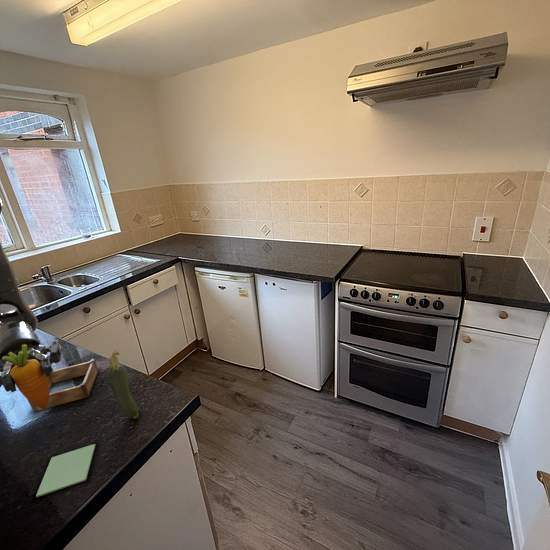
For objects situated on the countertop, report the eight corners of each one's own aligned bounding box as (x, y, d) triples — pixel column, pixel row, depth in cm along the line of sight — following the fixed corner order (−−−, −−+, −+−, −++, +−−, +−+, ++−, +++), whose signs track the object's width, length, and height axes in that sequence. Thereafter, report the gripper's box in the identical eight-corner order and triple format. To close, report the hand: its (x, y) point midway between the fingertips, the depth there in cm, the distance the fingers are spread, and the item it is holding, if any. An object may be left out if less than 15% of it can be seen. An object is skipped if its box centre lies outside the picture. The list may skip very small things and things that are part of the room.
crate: (33, 412, 82) (27, 399, 81) (50, 382, 94) (45, 371, 92) (89, 396, 86) (84, 384, 84) (98, 369, 97) (94, 358, 96)
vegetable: (122, 426, 75) (97, 361, 67) (123, 414, 78) (99, 351, 71) (141, 419, 76) (119, 354, 69) (141, 408, 80) (120, 345, 73)
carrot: (29, 421, 59) (-4, 360, 54) (31, 406, 63) (1, 347, 58) (58, 409, 62) (29, 349, 56) (59, 395, 66) (32, 338, 60)
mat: (36, 497, 60) (35, 496, 60) (52, 458, 68) (51, 457, 68) (86, 480, 62) (85, 479, 62) (95, 444, 70) (95, 443, 70)
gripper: (-30, 348, 63) (-30, 385, 52) (50, 320, 72) (66, 346, 61) (-14, 376, 66) (-10, 417, 54) (61, 346, 75) (78, 375, 63)
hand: (30, 379), depth 58 cm, fingers closed on carrot, 5 cm apart
